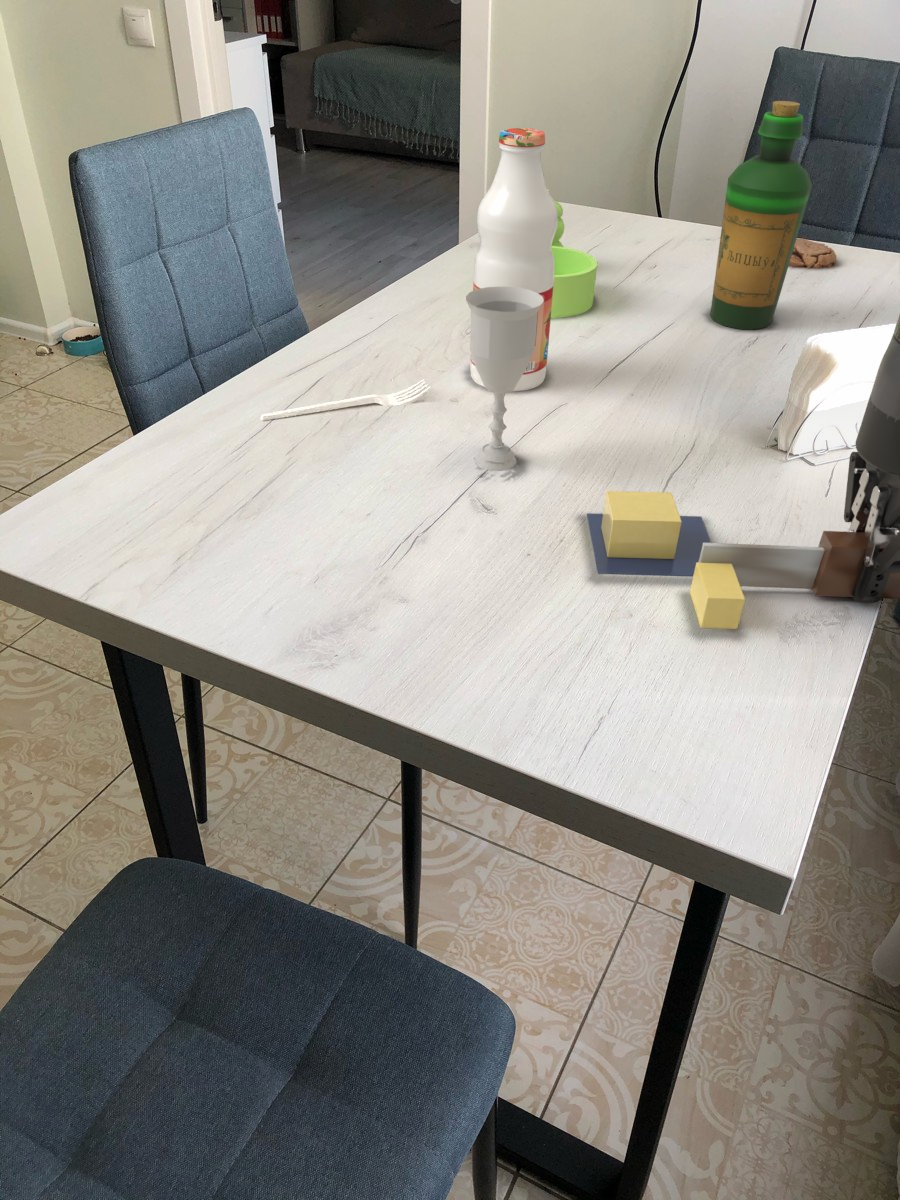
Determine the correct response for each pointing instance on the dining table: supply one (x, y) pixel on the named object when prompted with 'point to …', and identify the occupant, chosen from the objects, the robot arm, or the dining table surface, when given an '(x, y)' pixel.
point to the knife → (801, 564)
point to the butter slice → (717, 595)
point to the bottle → (761, 224)
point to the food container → (571, 276)
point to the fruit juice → (519, 237)
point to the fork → (356, 402)
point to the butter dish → (654, 566)
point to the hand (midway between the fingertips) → (858, 588)
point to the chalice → (501, 355)
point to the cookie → (812, 255)
